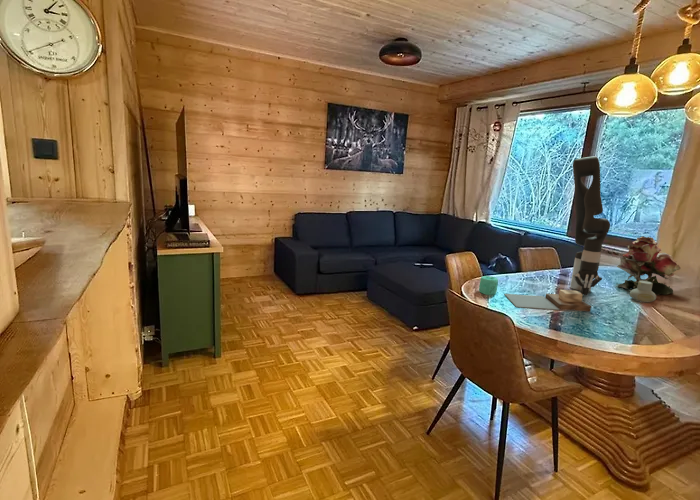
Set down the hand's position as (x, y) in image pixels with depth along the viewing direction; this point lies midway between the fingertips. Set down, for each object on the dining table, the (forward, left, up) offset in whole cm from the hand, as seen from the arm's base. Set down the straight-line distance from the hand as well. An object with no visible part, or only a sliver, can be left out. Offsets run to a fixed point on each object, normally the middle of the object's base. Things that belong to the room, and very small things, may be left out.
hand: (584, 294), depth 190 cm
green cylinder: (+42, -11, -6) cm, 44 cm away
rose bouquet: (-50, -40, -6) cm, 64 cm away
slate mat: (+24, 0, -6) cm, 25 cm away
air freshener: (-37, -15, -6) cm, 40 cm away
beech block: (+6, 0, -3) cm, 7 cm away
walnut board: (+7, 0, -6) cm, 9 cm away
